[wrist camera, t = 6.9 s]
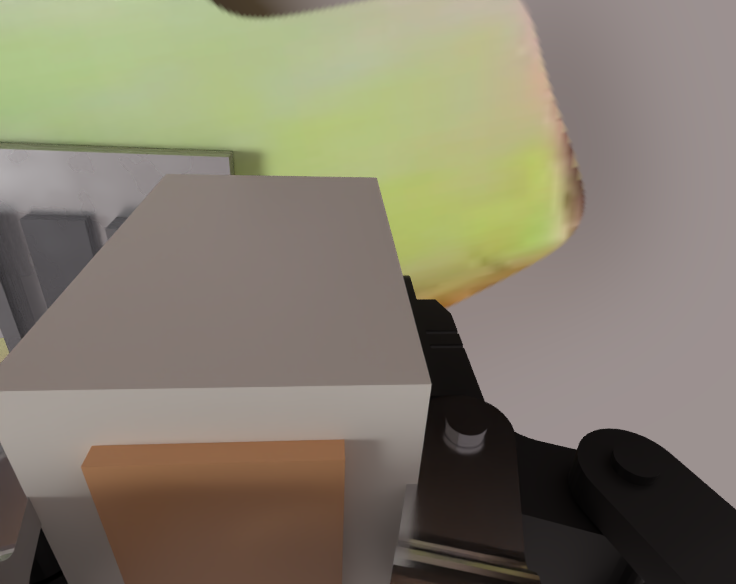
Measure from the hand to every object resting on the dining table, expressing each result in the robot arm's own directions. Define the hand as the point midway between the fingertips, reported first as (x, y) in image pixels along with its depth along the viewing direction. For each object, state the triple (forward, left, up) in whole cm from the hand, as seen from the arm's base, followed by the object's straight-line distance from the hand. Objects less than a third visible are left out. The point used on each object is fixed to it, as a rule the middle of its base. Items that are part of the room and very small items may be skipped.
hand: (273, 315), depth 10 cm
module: (0, 0, -1) cm, 1 cm away
